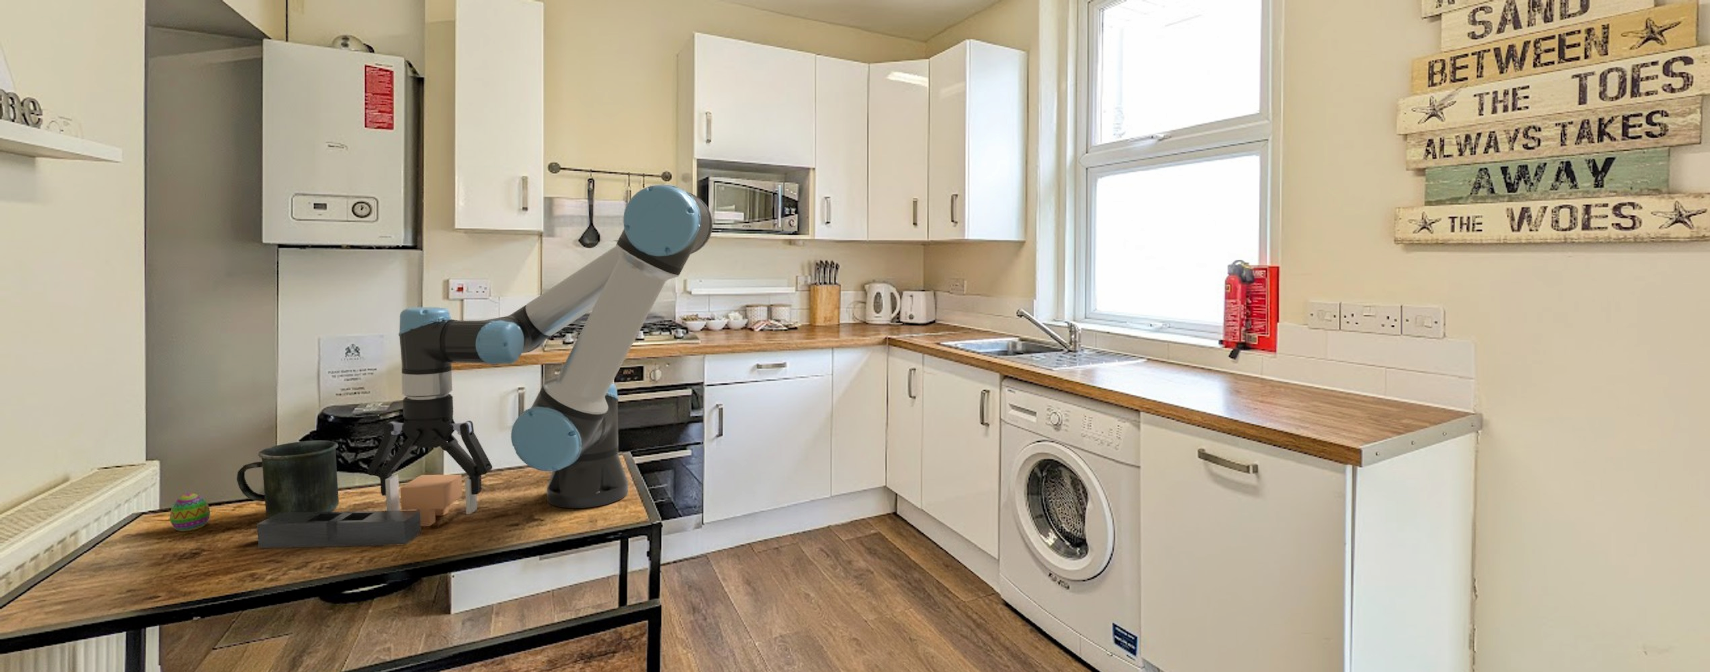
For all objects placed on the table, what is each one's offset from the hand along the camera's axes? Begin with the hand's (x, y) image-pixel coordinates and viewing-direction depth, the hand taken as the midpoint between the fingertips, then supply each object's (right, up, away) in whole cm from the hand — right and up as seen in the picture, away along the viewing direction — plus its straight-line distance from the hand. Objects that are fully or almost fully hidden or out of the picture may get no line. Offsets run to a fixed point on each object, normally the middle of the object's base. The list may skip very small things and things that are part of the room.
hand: (432, 512), depth 123 cm
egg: (-38, -1, -6) cm, 38 cm away
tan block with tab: (0, -1, 0) cm, 1 cm away
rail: (-9, -2, -10) cm, 13 cm away
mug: (-26, -1, +1) cm, 26 cm away
